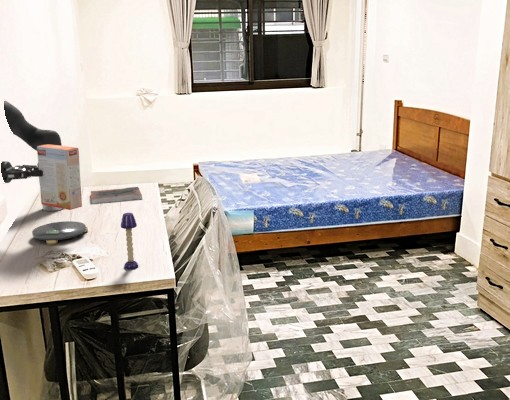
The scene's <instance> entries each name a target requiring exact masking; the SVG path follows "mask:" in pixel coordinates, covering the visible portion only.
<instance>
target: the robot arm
mask: <svg viewBox="0 0 510 400" xmlns="http://www.w3.org/2000/svg"><path fill="white" fill-rule="evenodd" d="M4 110H5V116H6V119H7V122H8V124H9V127H10V129H11V131H12V132H13V136H16V137H18V138H19V139H21V140H22V141H23V142H25V143H26V145H28V146H29V147H30V148H31V149H32V150H34V151H36V152H37V146H41V145H47V144H51V145H59V146H63V145H62V139H61V138H62V137H61V136H60V134H59V133H58V132H57V131H55V130H54V129H53V130H52V129H40V128H38V127H36V126H35V125H33V124H31V123H29V121H27V120H26V118H25V116H24V115H23V113H22V111H20V110H19V108H18V107H16V106H14V105H13V104H12V103H10V102H9V101H7V100H5V101H4ZM1 173H2V177H3V180H4V182H5V183H4V184H9V183H11V181H13V180H23V179H24V180H26V179H29V178H30V179H31V178H34V177H38V180H39V182H38V183H40V179H39V177H42V176H43V171H42V170H39V167H38V163H37V165H36V164H35V165H34V164H33V165H31V164H22V165H15V166H13V165H12V163H11V162H10V161H8V160H7V161H2V163H1ZM41 206H42V210H43V211H46V212H53V211H54V212H55V211H60V210H63V209H62V208H57V207H52V206H47V205H42V204H41Z"/></svg>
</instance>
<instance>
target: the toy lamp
mask: <svg viewBox="0 0 510 400" xmlns="http://www.w3.org/2000/svg"><path fill="white" fill-rule="evenodd" d="M120 228H121V229H124V230H125V232H126V233H125V236H126V239H125V240H126V247H127V248H126V250H127V254H126V255H127V261H126V262H125V263H124V266H123V268H124V269H125V270H134V269H135V270H136V269H137V268H138V267H139V264H138V262H137V261H136V260H135V258H134V246H133V244H134V243H133V233H132V231H133V229H134V228H137V221H136V218H135V215H134V214H133V213H132V212H125V213H122V218H121V222H120Z"/></svg>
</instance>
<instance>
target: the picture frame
mask: <svg viewBox="0 0 510 400" xmlns="http://www.w3.org/2000/svg"><path fill="white" fill-rule="evenodd" d="M90 196H91V204H92V205H94V204H103V203H104V204H106V203H114V202H115V201H116V202H124V201H123V200H127V201H133V200H132V199H137V200H142V199H143V194H142V192H141V191H140V188H139V187H138V186H132V187H130V186H129V187H124V188H123V187H122V188H115V189H101V190H91V191H90ZM141 198H142V199H141ZM116 202H115V203H116Z"/></svg>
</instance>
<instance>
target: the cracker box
mask: <svg viewBox="0 0 510 400" xmlns="http://www.w3.org/2000/svg"><path fill="white" fill-rule="evenodd" d="M36 154H37V164H38V166H37V167H39V170H42V171H43V176H42V177H38V180H39V179H40V182H39V187H40V189H39V191H40V203H41V206H42V205H47V206H52V207H57V208H62V209H61V210H68V211H71V210H75V209H78V208H81V207H83V199H82V198H83V197H82V186H81V183H82V182H81V169H80V168H81V167H80V165H81V164H80V152H79V147H75V146H68V145H62V146H59V145H51V144H47V145H41V146H37V151H36Z"/></svg>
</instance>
